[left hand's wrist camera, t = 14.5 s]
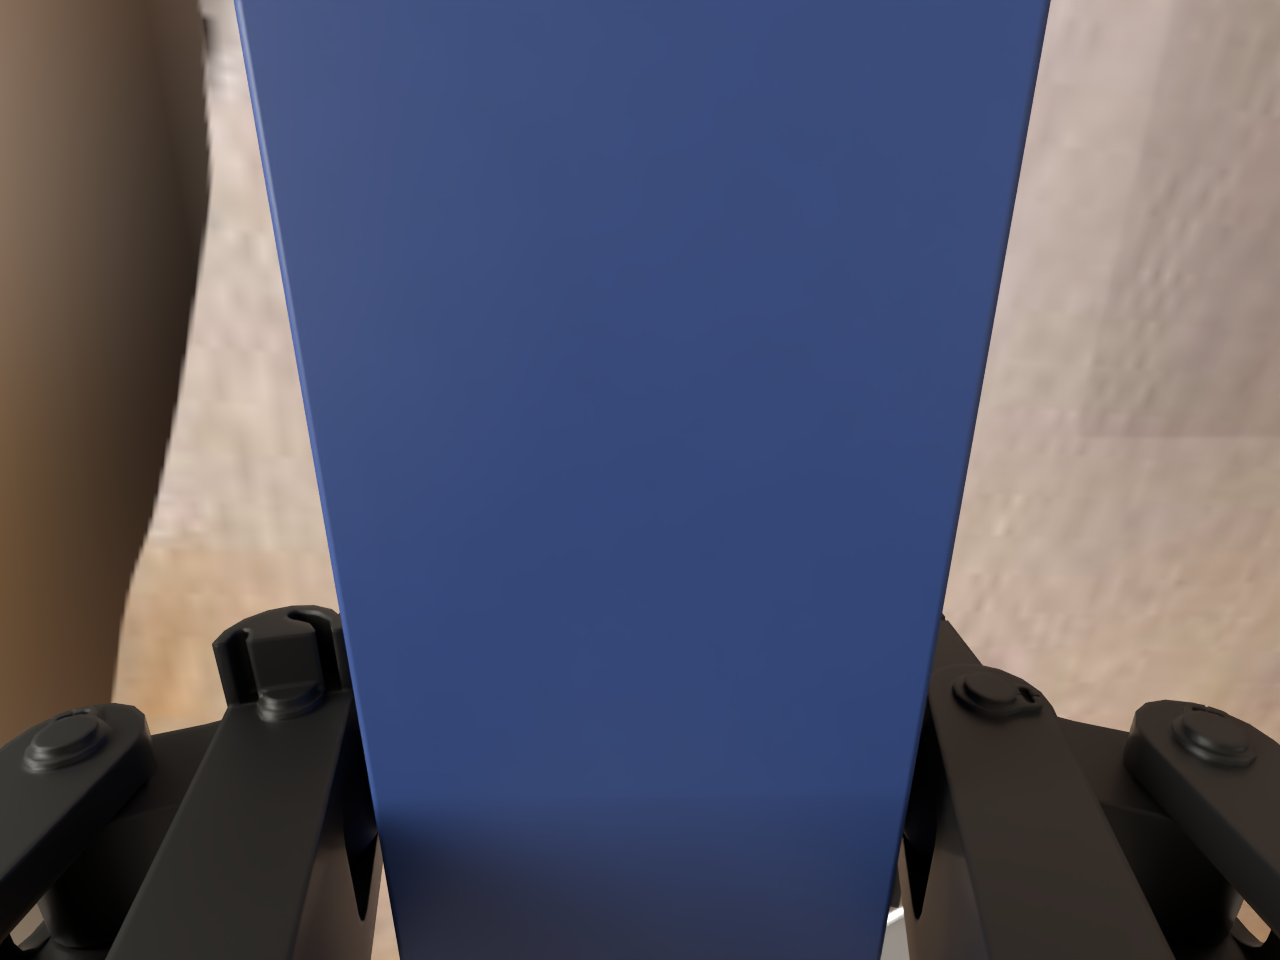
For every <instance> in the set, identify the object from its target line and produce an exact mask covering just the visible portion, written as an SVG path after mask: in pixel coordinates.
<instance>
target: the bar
mask: <svg viewBox="0 0 1280 960" xmlns="http://www.w3.org/2000/svg"><path fill="white" fill-rule="evenodd" d="M1050 1H1051V0H234V5H235V10H236V16H237V22H238V28H239V33H240V39H241V45H242V51H243V57H244V62H245V68H246V74H247V80H248V85H249V91H250V97H251V103H252V108H253V114H254V120H255V126H256V131H257V137H258V143H259V149H260V155H261V160H262V166H263V172H264V178H265V183H266V189H267V195H268V201H269V206H270V212H271V218H272V224H273V230H274V235H275V241H276V247H277V253H278V258H279V264H280V270H281V276H282V281H283V287H284V293H285V299H286V304H287V310H288V316H289V322H290V328H291V333H292V339H293V345H294V351H295V356H296V362H297V368H298V374H299V379H300V385H301V391H302V397H303V402H304V408H305V414H306V420H307V426H308V431H309V437H310V443H311V449H312V454H313V460H314V466H315V472H316V477H317V483H318V489H319V495H320V500H321V506H322V512H323V518H324V524H325V529H326V535H327V541H328V547H329V552H330V558H331V564H332V570H333V575H334V581H335V587H336V593H337V598H338V604H339V610H340V616H341V622H342V627H343V633H344V639H345V645H346V650H347V656H348V662H349V668H350V673H351V679H352V685H353V691H354V696H355V702H356V708H357V714H358V720H359V725H360V731H361V737H362V743H363V748H364V754H365V760H366V766H367V771H368V777H369V783H370V789H371V795H372V800H373V806H374V812H375V818H376V823H377V829H378V835H379V841H380V846H381V852H382V858H383V864H384V869H385V875H386V881H387V887H388V893H389V898H390V904H391V910H392V916H393V921H394V927H395V933H396V939H397V944H398V950H399V956H400V960H881V955H882V949H883V943H884V938H885V932H886V926H887V921H888V915H889V909H890V904H891V898H892V892H893V887H894V881H895V876H896V870H897V864H898V859H899V853H900V847H901V842H902V836H903V830H904V825H905V819H906V813H907V808H908V802H909V797H910V791H911V785H912V780H913V774H914V768H915V763H916V757H917V751H918V746H919V740H920V735H921V729H922V723H923V718H924V712H925V706H926V701H927V695H928V689H929V684H930V678H931V672H932V667H933V661H934V656H935V650H936V644H937V639H938V633H939V627H940V622H941V616H942V610H943V605H944V599H945V594H946V588H947V582H948V577H949V571H950V565H951V560H952V554H953V548H954V543H955V537H956V531H957V526H958V520H959V515H960V509H961V503H962V498H963V492H964V486H965V481H966V475H967V469H968V464H969V458H970V453H971V447H972V441H973V436H974V430H975V424H976V419H977V413H978V407H979V402H980V396H981V390H982V385H983V379H984V374H985V368H986V362H987V357H988V351H989V345H990V340H991V334H992V328H993V323H994V317H995V311H996V306H997V300H998V295H999V289H1000V283H1001V278H1002V272H1003V266H1004V261H1005V255H1006V249H1007V244H1008V238H1009V233H1010V227H1011V221H1012V216H1013V210H1014V204H1015V199H1016V193H1017V187H1018V182H1019V176H1020V170H1021V165H1022V159H1023V154H1024V148H1025V142H1026V137H1027V131H1028V125H1029V120H1030V114H1031V108H1032V103H1033V97H1034V92H1035V86H1036V80H1037V75H1038V69H1039V63H1040V58H1041V52H1042V46H1043V41H1044V35H1045V29H1046V24H1047V18H1048V13H1049V7H1050Z"/></svg>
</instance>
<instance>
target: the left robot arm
mask: <svg viewBox="0 0 1280 960" xmlns="http://www.w3.org/2000/svg"><path fill="white" fill-rule="evenodd" d="M212 647H213V650H214V654H215V658H216V662H217V666H218V670H219V674H220V678H221V682H222V686H223V690H224V694H225V698H226V702H227V706H228V708H227V710H226V712H225V714H224V716H223V718H222V720H220V721H216V722H212V723H209V724H205V725H200V726H195V727H190V728H185V729H180V730H175V731H170V732H165V733H161V734H156V735H151V734H150V731H149V728H148V724H147V721H146V718H145V715H144V714H143V713H142V712H141V711H140V710H138V709H137V708H136V707H135V706H130V705H124V704H118V703H111V704H102V705H93V706H86V707H81V708H77V709H76V710H73V711H72V710H70V711H67V712H64V713H61V714H58V715H56V716H54V717H53V718H51V719H49V720H47V721H44V722H42V723H40V724H38V725H36V726H33V727H31V728H30V729H28V730H27V731H25V732H24V733H22V734H21V735H19V736H18V737H16V738H15V739H13V740H12V741H10V742H9V743H7V744H6V745H4V746H3V747H2V748H1V749H0V960H371V953H372V945H373V937H374V929H375V921H376V913H377V905H378V897H379V889H380V881H381V873H382V865H383V858H382V852H381V846H380V841H379V835H378V829H377V823H376V818H375V812H374V806H373V800H372V795H371V789H370V783H369V777H368V771H367V766H366V760H365V754H364V748H363V743H362V737H361V731H360V725H359V720H358V714H357V708H356V702H355V696H354V691H353V685H352V679H351V673H350V668H349V662H348V656H347V650H346V645H345V639H344V633H343V627H342V622H341V616H340V613H339V614H337V613H336V612H335V611H333V610H332V609H329V608H324V607H320V606H315V605H302V606H288V607H283V608H278V609H273V610H268V611H265V612H262V613H260V614H257V615H254V616H251V617H249V618H246V619H244V620H242V621H240V622H239V623H237V624H235V625H233V626H232V627H230V628H228V629H227V630H225V631H224V632H223V633H222V634H221V635H220V636H219V637H218V638H217V639H216V640H215V641H214V642H213V643H212ZM1243 900H1245V901H1246V902H1247V903H1248V904H1249V905H1250V906H1251V907H1252V909H1253V910H1254V911H1255V912H1256V913H1257V914H1258V915H1259V916H1260V917H1261V919H1262V920H1263V921H1264V922H1265V923H1266V924H1267V925H1268V926H1269V927H1270V929H1271V932H1270V934H1269V936H1268V938H1267V940H1266V941H1265V942H1264V943H1262V942H1260V941H1259V940H1258V939H1257V938H1256V937H1255V936H1254V935H1253V934H1251V933H1250V932H1249V931H1248V930H1247V928H1246V927H1245V926H1244V925H1243V924H1242V923H1241V921H1240V920H1239V919H1238V918H1237V915H1238V912H1239V910H1240V907H1241V905H1242V903H1243ZM36 903H37V904H38V907H39V909H40V912H41V914H42V916H43V919H44V920H43V922H42V923H41V924H40V925H39V926H38V927H37V929H36V930H35V931H34V932H33V933H32V934H31V935H30V936H29V937H28V938H27V939H26V940H24V941H23V942H22V943H21V944H20V945H18V946H17V945H15V944H14V942H13V940H12V938H11V936H10V932H11V931H12V930H13V929H14V928H15V927H16V926H17V925H18V923H19V922H20V921H21V920H22V919H23V918H24V917H25V915H26V914H27V913H28V912H29V911H30V910H31V909H32V908H33V907H34V905H35V904H36ZM881 960H1280V745H1279V744H1278V743H1277V742H1276V741H1274V740H1273V739H1271V738H1270V737H1268V736H1267V735H1265V734H1264V733H1262V732H1261V731H1259V730H1258V729H1256V728H1255V727H1253V726H1252V725H1250V724H1248V723H1246V722H1244V721H1241V720H1239V719H1237V718H1235V717H1233V716H1230V715H1228V714H1227V713H1226V712H1223V711H1221V710H1218V709H1215V708H1212V707H1209V706H1208V707H1205V705H1201V704H1196V703H1191V702H1181V701H1172V700H1161V701H1154V702H1148V703H1145V704H1144V705H1143V706H1142V707H1140V708H1139V709H1138V710H1137V711H1136V712H1135V716H1134V719H1133V722H1132V725H1131V729H1130V732H1125V731H1120V730H1115V729H1110V728H1105V727H1100V726H1096V725H1091V724H1086V723H1081V722H1076V721H1072V720H1068V719H1064V718H1060V717H1057V715H1056V713H1055V711H1054V709H1053V707H1052V705H1051V704H1050V703H1049V702H1048V700H1047V699H1046V698H1045V697H1044V695H1043V694H1042V693H1041V692H1040V691H1039V690H1037V689H1036V688H1034V687H1033V686H1032V685H1030V684H1029V683H1027V682H1026V681H1024V680H1023V679H1021V678H1019V677H1016V676H1014V675H1012V674H1009V673H1007V672H1005V671H1002V670H1000V669H996V668H992V667H987V666H983V665H982V664H981V663H980V661H979V660H978V659H977V657H976V656H975V655H974V654H973V652H972V651H971V650H970V648H969V647H968V646H967V644H966V643H965V642H964V641H963V639H962V638H961V637H960V635H959V634H958V633H957V632H956V630H955V629H954V628H953V626H952V625H951V624H950V623H949V621H945V616H944V615H943V613H942V616H941V622H940V627H939V633H938V639H937V644H936V650H935V656H934V661H933V667H932V672H931V678H930V684H929V689H928V695H927V701H926V706H925V712H924V718H923V723H922V729H921V735H920V740H919V746H918V751H917V757H916V763H915V768H914V774H913V780H912V785H911V791H910V797H909V802H908V808H907V813H906V819H905V825H904V830H903V836H902V842H901V847H900V853H899V859H898V864H897V870H896V876H895V881H894V887H893V892H892V898H891V904H890V909H889V915H888V921H887V926H886V932H885V938H884V943H883V949H882V955H881Z"/></svg>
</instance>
